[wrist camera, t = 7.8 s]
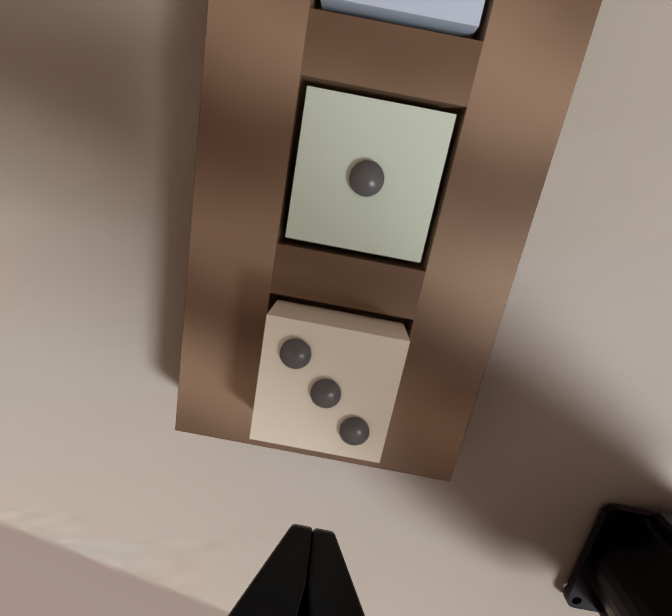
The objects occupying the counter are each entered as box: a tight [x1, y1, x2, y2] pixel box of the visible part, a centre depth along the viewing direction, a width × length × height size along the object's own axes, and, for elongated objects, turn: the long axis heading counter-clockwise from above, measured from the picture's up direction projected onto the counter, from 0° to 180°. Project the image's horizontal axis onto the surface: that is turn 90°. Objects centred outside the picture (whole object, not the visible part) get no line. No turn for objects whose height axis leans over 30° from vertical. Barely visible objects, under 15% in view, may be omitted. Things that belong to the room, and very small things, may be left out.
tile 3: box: [249, 300, 410, 463], centre depth 15 cm, size 5×5×2 cm
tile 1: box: [285, 86, 457, 263], centre depth 15 cm, size 5×5×2 cm
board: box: [175, 0, 602, 481], centre depth 15 cm, size 23×12×2 cm, turn 170°
